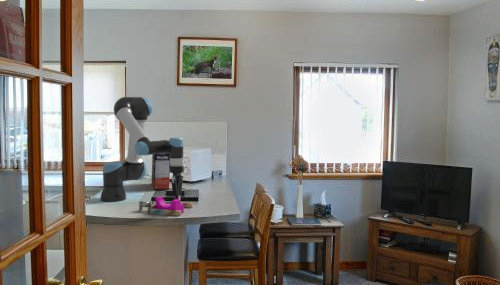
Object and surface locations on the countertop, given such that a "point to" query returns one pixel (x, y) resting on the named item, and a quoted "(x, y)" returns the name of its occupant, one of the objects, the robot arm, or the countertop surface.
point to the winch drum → (145, 205)
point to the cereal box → (160, 171)
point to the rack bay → (168, 212)
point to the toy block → (173, 206)
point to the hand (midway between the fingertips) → (177, 206)
